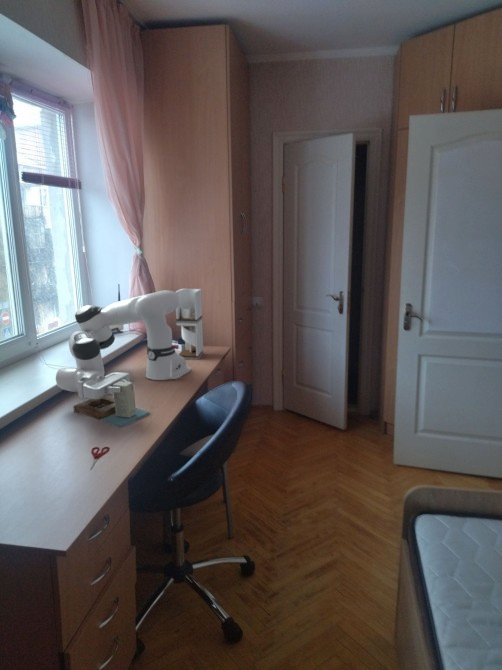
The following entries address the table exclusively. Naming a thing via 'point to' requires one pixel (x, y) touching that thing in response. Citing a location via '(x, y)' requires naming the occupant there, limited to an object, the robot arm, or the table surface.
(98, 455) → the scissors
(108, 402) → the pocket holder
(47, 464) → the table surface
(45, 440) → the table surface
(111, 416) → the teal mat
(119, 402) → the skincare box
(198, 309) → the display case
